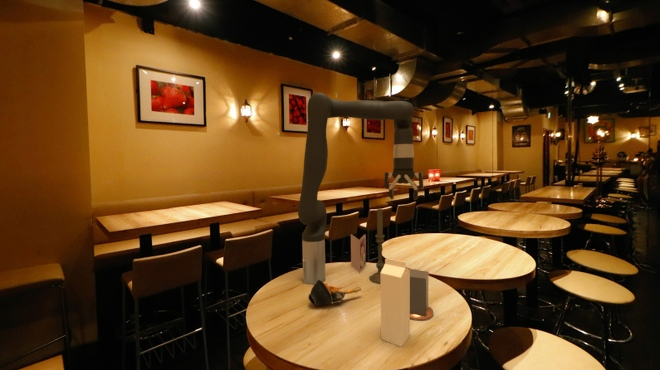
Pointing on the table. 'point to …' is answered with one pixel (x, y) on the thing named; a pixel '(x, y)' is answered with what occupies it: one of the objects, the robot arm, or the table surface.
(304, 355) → the table surface
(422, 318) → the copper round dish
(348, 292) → the fried shrimp in bowl
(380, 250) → the candlestick holder
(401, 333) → the milk
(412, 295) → the grey rectangular block
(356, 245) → the greeting card
